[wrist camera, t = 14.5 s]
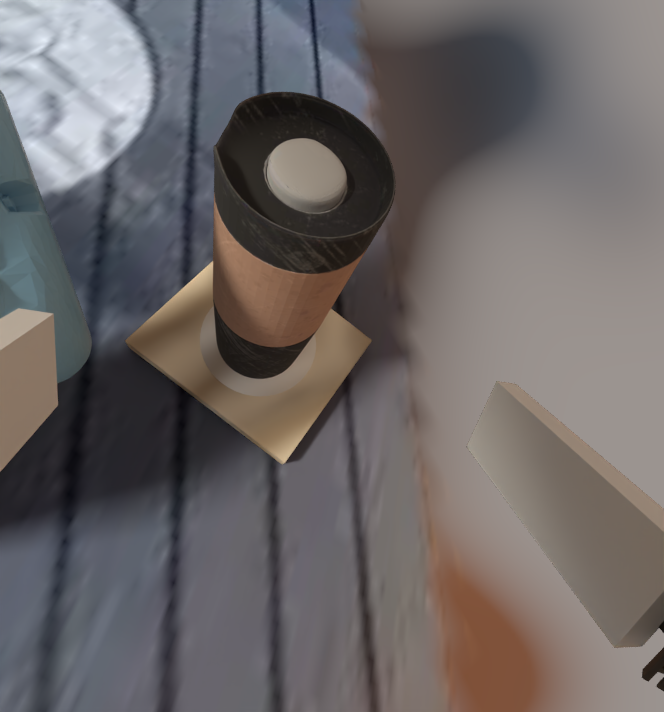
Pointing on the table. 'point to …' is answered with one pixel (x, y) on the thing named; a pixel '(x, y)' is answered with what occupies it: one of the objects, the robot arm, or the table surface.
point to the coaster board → (239, 393)
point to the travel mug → (289, 223)
